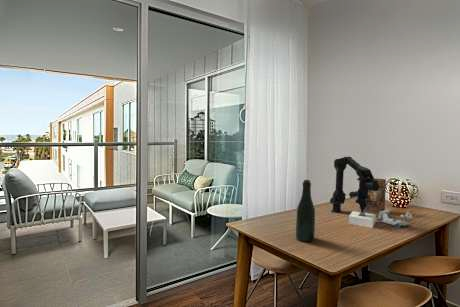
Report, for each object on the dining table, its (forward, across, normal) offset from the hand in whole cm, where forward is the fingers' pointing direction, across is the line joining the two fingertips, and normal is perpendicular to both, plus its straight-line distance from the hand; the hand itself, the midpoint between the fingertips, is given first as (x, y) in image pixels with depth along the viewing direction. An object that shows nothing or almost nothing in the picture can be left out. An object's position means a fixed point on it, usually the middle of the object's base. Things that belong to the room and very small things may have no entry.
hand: (362, 211), depth 184 cm
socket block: (+8, 0, 0) cm, 8 cm away
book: (+8, -33, +2) cm, 34 cm away
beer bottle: (+8, +49, -22) cm, 54 cm away
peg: (+4, 0, 0) cm, 4 cm away
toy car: (+8, -10, +18) cm, 22 cm away
